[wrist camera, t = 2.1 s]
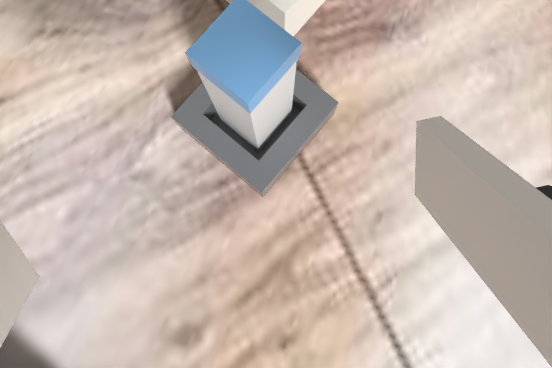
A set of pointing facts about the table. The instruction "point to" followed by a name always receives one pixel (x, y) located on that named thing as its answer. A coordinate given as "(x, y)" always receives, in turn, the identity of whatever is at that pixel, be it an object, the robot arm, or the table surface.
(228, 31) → the plug
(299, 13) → the port block
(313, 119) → the holster
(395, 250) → the table surface
